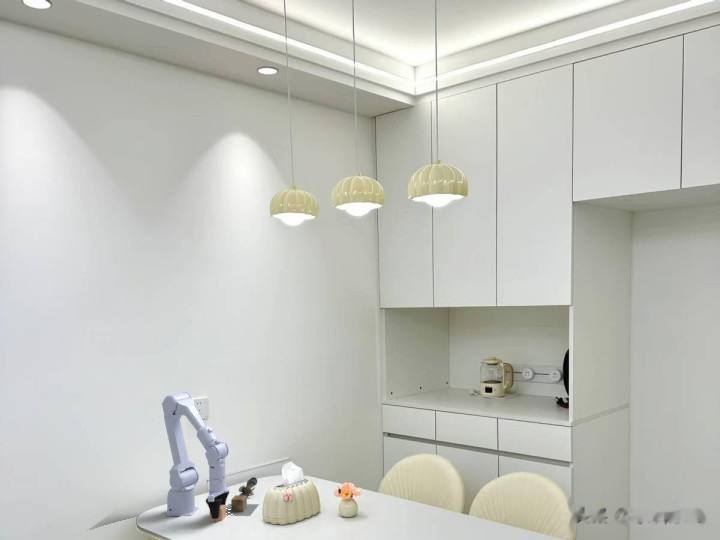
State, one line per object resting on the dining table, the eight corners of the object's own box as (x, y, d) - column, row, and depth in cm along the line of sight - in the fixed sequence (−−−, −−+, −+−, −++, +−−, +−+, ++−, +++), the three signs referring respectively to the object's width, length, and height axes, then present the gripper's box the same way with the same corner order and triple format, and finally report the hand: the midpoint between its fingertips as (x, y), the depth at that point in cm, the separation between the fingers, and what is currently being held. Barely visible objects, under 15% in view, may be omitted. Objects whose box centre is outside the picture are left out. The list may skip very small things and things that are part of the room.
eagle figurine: (260, 495, 240) (261, 484, 249) (250, 481, 239) (251, 470, 248) (244, 506, 240) (246, 494, 249) (234, 492, 239) (236, 481, 248)
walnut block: (231, 511, 225) (231, 499, 225) (235, 507, 229) (235, 495, 230) (243, 511, 225) (243, 499, 225) (246, 507, 229) (246, 495, 229)
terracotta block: (209, 521, 217) (209, 509, 217) (214, 517, 221) (214, 504, 221) (222, 522, 216) (221, 509, 216) (226, 517, 221) (225, 504, 221)
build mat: (218, 516, 222) (218, 515, 222) (228, 504, 234) (228, 503, 234) (250, 516, 220) (250, 515, 220) (259, 505, 232) (259, 504, 232)
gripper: (221, 483, 212) (221, 523, 211) (234, 471, 226) (235, 508, 225) (201, 483, 212) (202, 522, 212) (216, 471, 227) (216, 507, 226)
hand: (218, 515), depth 219 cm, fingers open, 5 cm apart
